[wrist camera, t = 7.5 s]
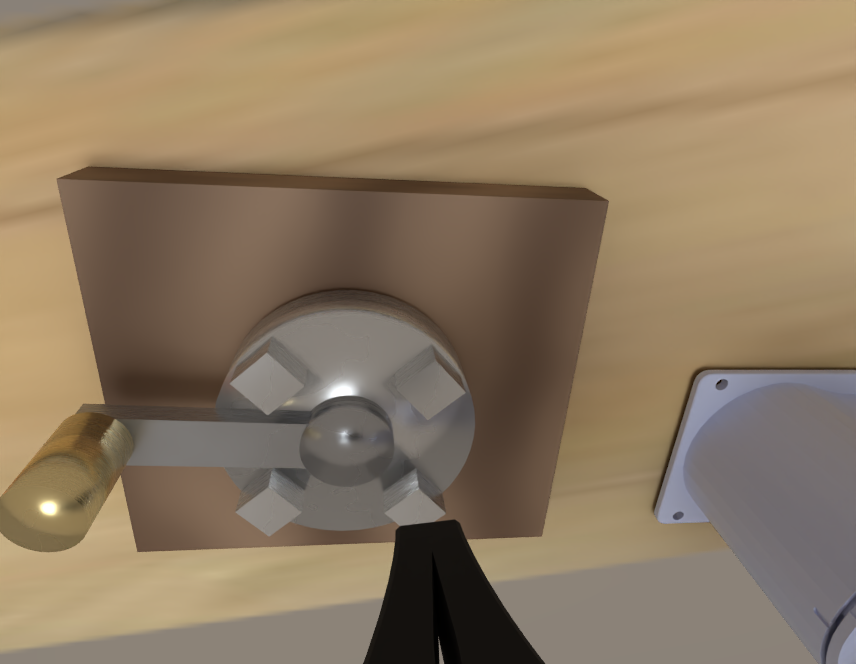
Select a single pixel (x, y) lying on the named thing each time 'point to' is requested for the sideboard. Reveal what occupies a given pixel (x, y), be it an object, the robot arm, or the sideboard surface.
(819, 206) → the sideboard surface
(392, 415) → the grey crank wheel
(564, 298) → the base plate
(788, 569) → the robot arm
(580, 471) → the sideboard surface
